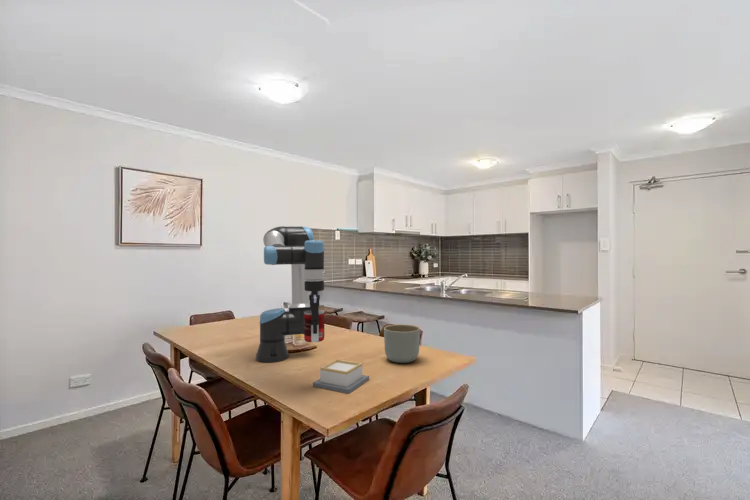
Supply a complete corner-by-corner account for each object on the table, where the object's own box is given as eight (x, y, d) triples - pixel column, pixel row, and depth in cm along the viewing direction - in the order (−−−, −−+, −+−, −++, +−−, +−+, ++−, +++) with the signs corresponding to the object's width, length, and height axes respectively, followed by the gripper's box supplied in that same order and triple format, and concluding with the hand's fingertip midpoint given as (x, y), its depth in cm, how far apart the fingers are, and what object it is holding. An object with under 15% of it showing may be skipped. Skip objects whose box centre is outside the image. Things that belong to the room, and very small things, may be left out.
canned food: (326, 337, 144) (326, 310, 144) (321, 342, 136) (321, 313, 136) (308, 337, 145) (307, 309, 145) (301, 342, 137) (301, 313, 137)
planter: (376, 359, 174) (376, 327, 174) (403, 353, 185) (403, 323, 185) (400, 368, 161) (400, 333, 161) (427, 361, 171) (427, 328, 171)
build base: (312, 386, 140) (312, 368, 140) (335, 373, 154) (335, 357, 154) (348, 393, 133) (348, 374, 133) (369, 379, 147) (369, 362, 147)
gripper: (326, 282, 131) (326, 345, 131) (322, 278, 152) (322, 332, 152) (304, 282, 130) (305, 346, 130) (304, 278, 150) (304, 333, 150)
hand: (314, 339), depth 141 cm, fingers closed on canned food, 8 cm apart
